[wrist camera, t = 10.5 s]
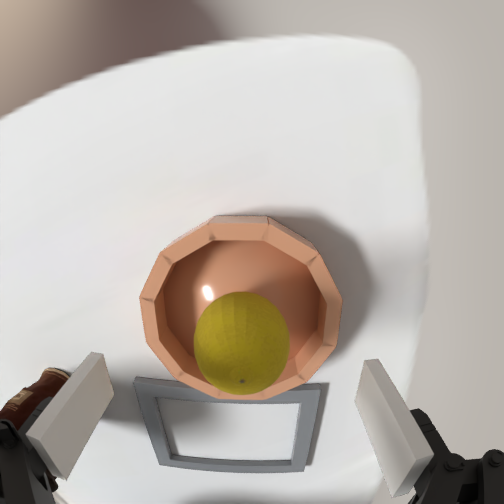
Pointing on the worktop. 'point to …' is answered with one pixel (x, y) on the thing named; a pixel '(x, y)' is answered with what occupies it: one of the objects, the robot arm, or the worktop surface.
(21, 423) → the coffee cup
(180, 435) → the worktop surface
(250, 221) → the bowl
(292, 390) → the gray rectangular frame
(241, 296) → the lemon
